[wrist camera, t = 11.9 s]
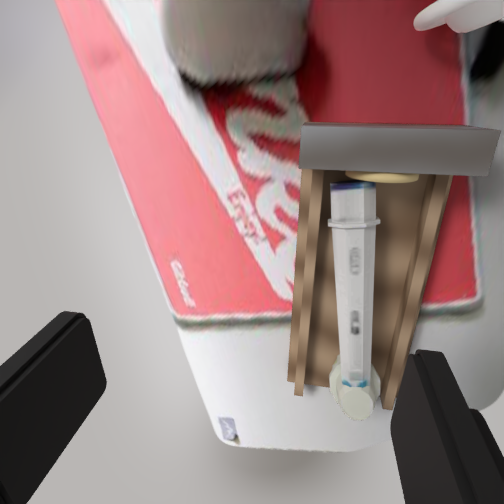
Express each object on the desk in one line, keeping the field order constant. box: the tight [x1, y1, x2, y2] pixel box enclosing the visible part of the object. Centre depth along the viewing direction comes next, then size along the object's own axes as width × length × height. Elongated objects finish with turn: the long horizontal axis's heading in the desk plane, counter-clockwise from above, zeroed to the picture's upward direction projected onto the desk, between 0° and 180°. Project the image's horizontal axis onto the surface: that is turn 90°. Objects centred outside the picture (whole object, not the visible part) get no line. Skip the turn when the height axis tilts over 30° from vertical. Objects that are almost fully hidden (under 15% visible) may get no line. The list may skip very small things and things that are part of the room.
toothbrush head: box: [328, 180, 380, 421], centre depth 33 cm, size 5×7×25 cm
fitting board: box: [287, 122, 501, 410], centre depth 32 cm, size 30×13×7 cm, turn 0°
